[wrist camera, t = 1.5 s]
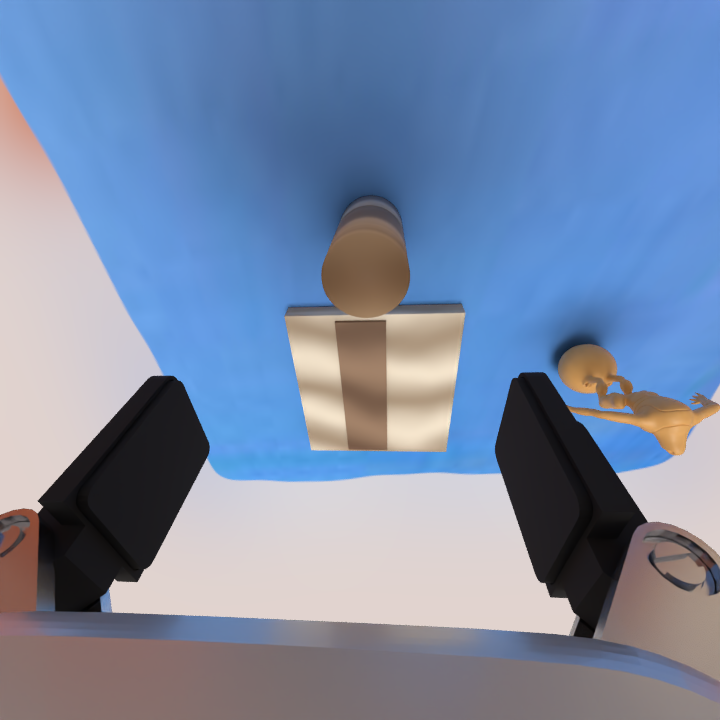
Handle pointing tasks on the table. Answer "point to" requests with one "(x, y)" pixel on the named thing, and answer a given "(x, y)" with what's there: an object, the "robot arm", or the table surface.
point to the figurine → (630, 398)
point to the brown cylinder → (367, 259)
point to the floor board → (377, 376)
